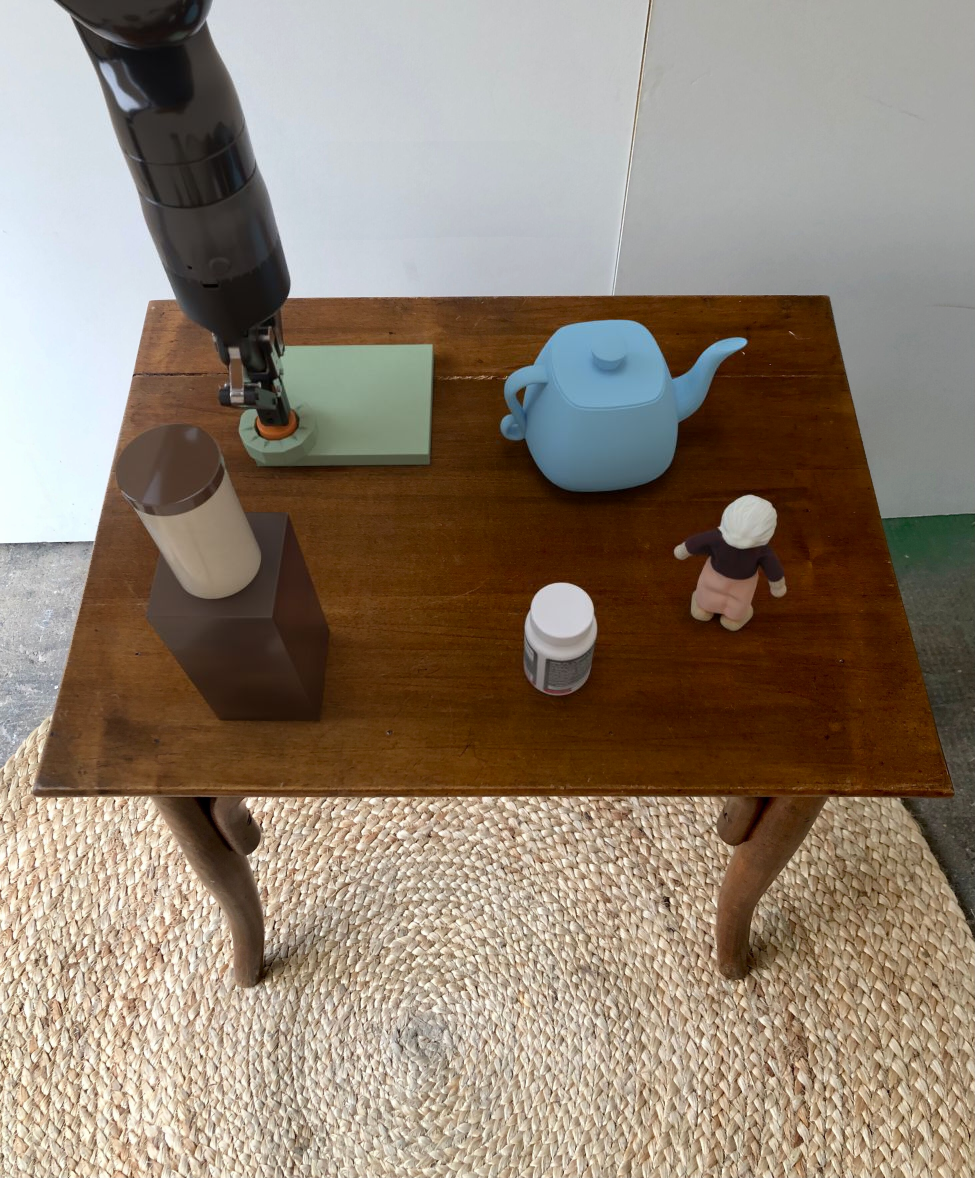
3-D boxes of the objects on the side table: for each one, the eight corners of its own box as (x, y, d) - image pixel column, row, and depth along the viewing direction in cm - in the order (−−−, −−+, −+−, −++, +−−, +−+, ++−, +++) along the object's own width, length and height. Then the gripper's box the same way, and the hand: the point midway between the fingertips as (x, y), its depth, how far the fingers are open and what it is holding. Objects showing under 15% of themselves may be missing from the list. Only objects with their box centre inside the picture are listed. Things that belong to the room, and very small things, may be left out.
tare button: (259, 448, 72) (254, 434, 70) (264, 419, 74) (259, 405, 72) (297, 448, 72) (292, 433, 70) (300, 419, 73) (296, 404, 72)
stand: (218, 720, 62) (144, 616, 49) (234, 630, 66) (168, 511, 53) (320, 721, 62) (272, 617, 49) (330, 630, 66) (288, 511, 53)
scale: (244, 476, 73) (234, 452, 70) (263, 357, 79) (255, 331, 77) (429, 474, 73) (427, 450, 70) (434, 355, 79) (431, 329, 76)
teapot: (771, 398, 62) (511, 422, 61) (736, 491, 71) (509, 513, 71) (727, 273, 68) (490, 293, 68) (700, 373, 78) (491, 392, 77)
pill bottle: (602, 656, 64) (614, 598, 57) (569, 709, 62) (577, 655, 55) (544, 625, 66) (550, 564, 58) (510, 675, 64) (511, 619, 56)
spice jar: (155, 568, 51) (92, 469, 43) (221, 511, 53) (173, 406, 45) (215, 617, 49) (161, 524, 41) (281, 556, 51) (242, 456, 43)
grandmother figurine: (768, 594, 67) (820, 492, 56) (764, 640, 65) (817, 544, 54) (663, 575, 68) (695, 471, 57) (657, 619, 66) (688, 520, 55)
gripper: (174, 168, 60) (240, 358, 75) (136, 310, 53) (217, 487, 68) (288, 166, 60) (331, 357, 75) (263, 309, 53) (316, 486, 68)
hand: (276, 419), depth 71 cm, fingers closed
